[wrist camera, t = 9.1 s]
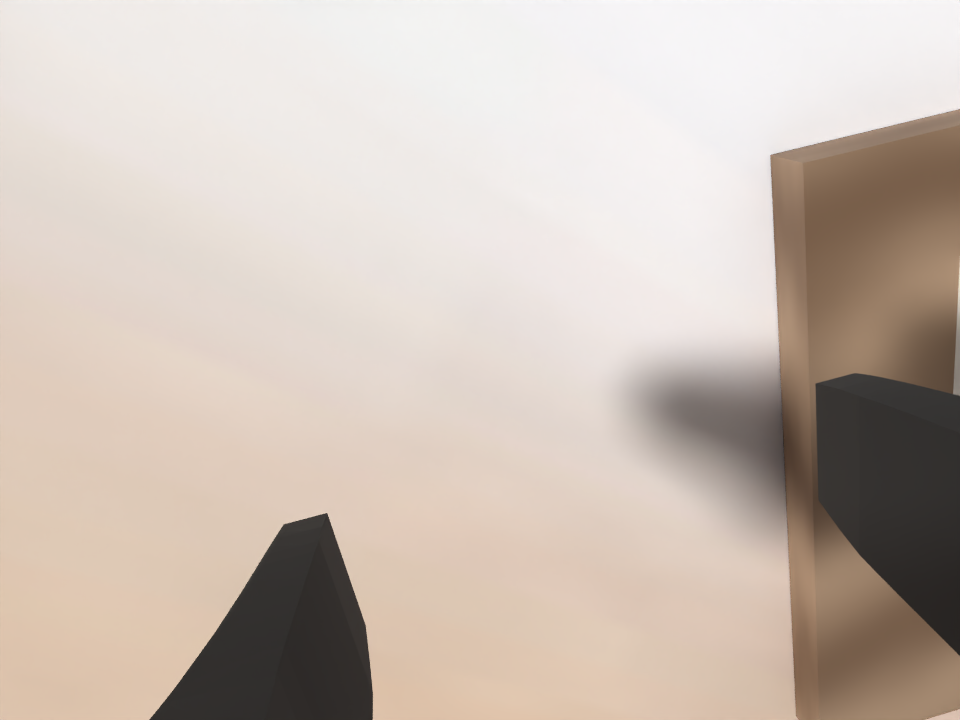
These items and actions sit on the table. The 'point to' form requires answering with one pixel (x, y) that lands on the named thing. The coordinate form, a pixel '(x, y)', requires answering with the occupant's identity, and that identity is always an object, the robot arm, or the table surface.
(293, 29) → the table surface
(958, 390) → the plaster cube
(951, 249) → the board
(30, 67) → the table surface
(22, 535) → the table surface
